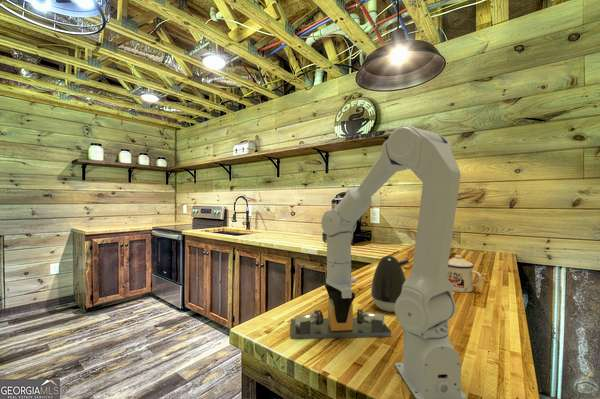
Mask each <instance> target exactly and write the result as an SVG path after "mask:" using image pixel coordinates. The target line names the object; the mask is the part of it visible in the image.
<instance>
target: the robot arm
mask: <svg viewBox="0 0 600 399" xmlns="http://www.w3.org/2000/svg"><path fill="white" fill-rule="evenodd" d="M407 170H410V171H411V172H412V173H414V175H415V176H416V177H417V178H418V179H419V181H421V182H422V190H421V197H420V204H419V213H418V221H417V229H416V235H415V244H414V252H413V253H414V254H413V258H412V259H413V261H412V266H411V267H412V269H411V272H410V273H409V275H408V276H407V278H406V281H405V282H404V284H403V285H402V291H401V294H400V296H399V297H398V299H397V300H396V302H395V312H394V314H395V317H396V319H397V321H398V323H399V324H400V326H401V329H402V330H403V344H402V345H403V350H402V352H403V362H395V364H394V365H395V368H396V370H397V371H398V373H399V374H400V376H401V377H402V379H403V381H404V382H405V384H406V385H407V387H408V389H409V391H410V392H411V393H412V395H413V396H414V398H415V399H467V395H466V394H465V392H463V391H462V362H461V357H460V354H458V352H457V350H456V349H455V348H454V347H453V345H452V342H451V340H450V333H449V330H450V329H449V328H450V327H449V320H450V319H452V318H453V317H454V315H455V314H456V309H457V307H456V301H455V299H454V295H453V291H452V290H453V284H452V283H451V282H450V281H449V280H448V279H447V277H446V276H447V269H448V262H449V260H450V256H451V255H450V254H451V247H452V241H453V240H452V239H453V233H454V225H455V217H456V211H457V203H458V197H459V190H460V183H461V169H460V167H459V165H458V162H457V161H456V158H455V156H454V154H453V152H452V142H451V141H450V140H448V139H447V138H446V137H445V136H443V135H442V134H441V133H438V132H437V131H436V132H435V131H429V130H425V129H422V128H418V127H414V126H412V125H408V124H402V125H400V126H398V127H396V128H394V129H393V130H392V132H391V133H390V134H389V137H388V138H387V139H386V140H385V141H384V142H383V143H382V146H381V153H380V155H379V156H378V157H377V159H376V161H375V162H374V163H373V165H372V167H371V168H370V169H369V170H368V172H367V174H366V176H365V177H364V178H363V180H362V181H361V183H360V184H359V186H358V187H356V186H353V187H351V188H348V189H347V190H346V192H345V195H344V196H343V197H342V198H341V199H340V201H339V203H337V204H336V205H335V207H334V208H332V209H331V210H326V211H325V212H324V213H323V215H322V217H321V229H322V231H323V233H325V235H326V279H325V282H326V283H325V284H324V287H325V290H326V291H327V294H328V299H332V300H333V304H334V309H335V316H336V320H337V323H346V321H347V318H348V313H349V309H350V306H351V303H352V304H353V301H354V299H355V298H356V294H355V292H354V291H353V290H352V285H353V284H356V283H357V279H356V278H355V277H352V241H353V239H354V232H355V231H356V229H357V221H358V220H359V219H360V218H361V217H362V216H363V215H364V214H365V212H366V211H368V209H369V208H370V207H371V206H372V204H373V203H372V202H373V200H372V197H373V196H374V195H375V194H376V193H377V192H378V191H379V190H380V188H382V187H383V186H384V184H386V183H387V182H388V181H389V180H390V179H391V178H392V177H393V175H395V174H396V173H398V172H401V171H407Z"/></svg>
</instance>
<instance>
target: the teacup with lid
mask: <svg viewBox="0 0 600 399" xmlns="http://www.w3.org/2000/svg"><path fill="white" fill-rule="evenodd" d="M474 274H475V275H477V276H478V281H477V282H476V283H474V280H473V279H474V278H473V277H474ZM446 277H447V279H448V280H449V281H450V282H451V283H452V284H453V290H452V292H456V293H457V292H458V293H471V292H473V291H474V286H476V287H477V286H479V285H480V284H481V283H482V281H483V276H482V274H481V273H480V272H479V271H477V270H474V264H473V263H472V262H470V261H469V260H466V259H464V258H462V255H460V254H456V255H454V257H452V258H449V262H448V269H447V276H446Z"/></svg>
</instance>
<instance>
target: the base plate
mask: <svg viewBox="0 0 600 399" xmlns="http://www.w3.org/2000/svg"><path fill="white" fill-rule="evenodd" d="M385 337H386V338H387V337H392V331H391V330H390V328H389V327H388V326H387V324H386V323H385V322H384V325H383V333H376V332H372V324H370V323H363V322H362V324H357V317H353V330H344V331H331V329H330V327H329V324H328V317H326V318H324V317H323V324H321V325H316V324H311V325H310V333H309V334H304V335H300V334H299V333H298V331H297V330H296V323H295V318H291V319H290V339H291V340H294V339H295V340H297V339H298V340H299V339H300V340H302V339H345V338H348V339H349V338H385Z"/></svg>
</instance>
